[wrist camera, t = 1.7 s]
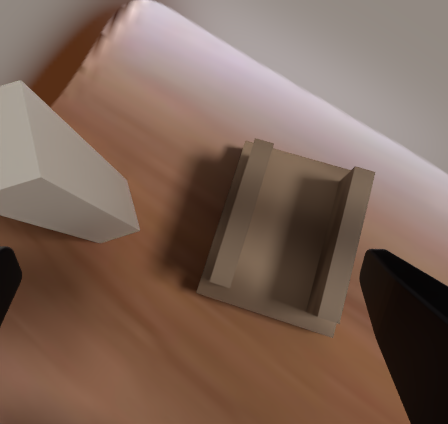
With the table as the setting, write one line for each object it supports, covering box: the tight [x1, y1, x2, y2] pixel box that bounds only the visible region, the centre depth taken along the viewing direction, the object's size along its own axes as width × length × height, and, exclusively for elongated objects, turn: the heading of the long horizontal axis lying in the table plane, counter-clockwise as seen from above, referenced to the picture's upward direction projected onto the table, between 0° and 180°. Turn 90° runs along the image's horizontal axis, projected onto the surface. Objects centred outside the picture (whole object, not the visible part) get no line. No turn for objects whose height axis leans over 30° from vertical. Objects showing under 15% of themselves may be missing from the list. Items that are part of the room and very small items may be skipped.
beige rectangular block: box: [0, 80, 140, 243], centre depth 18 cm, size 4×3×12 cm
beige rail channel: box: [196, 138, 375, 338], centre depth 21 cm, size 11×9×4 cm
